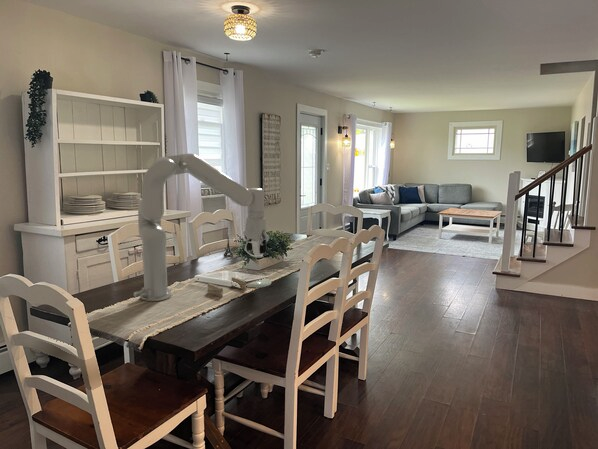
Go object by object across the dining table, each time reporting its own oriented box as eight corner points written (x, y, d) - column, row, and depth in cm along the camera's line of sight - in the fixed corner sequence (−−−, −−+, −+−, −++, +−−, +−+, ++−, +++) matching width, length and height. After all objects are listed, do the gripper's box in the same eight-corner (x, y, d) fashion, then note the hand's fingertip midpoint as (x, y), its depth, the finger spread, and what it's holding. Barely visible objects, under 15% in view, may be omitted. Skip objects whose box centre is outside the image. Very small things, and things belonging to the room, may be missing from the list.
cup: (263, 258, 210) (263, 241, 208) (243, 257, 211) (242, 240, 210) (267, 255, 216) (267, 238, 215) (247, 254, 218) (247, 237, 217)
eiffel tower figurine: (228, 260, 258) (228, 237, 256) (214, 258, 263) (213, 236, 260) (243, 255, 272) (242, 233, 269) (229, 253, 276) (228, 231, 274)
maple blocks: (220, 297, 196) (220, 288, 195) (207, 292, 202) (207, 283, 201) (246, 289, 207) (246, 281, 206) (233, 285, 213) (233, 276, 212)
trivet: (255, 289, 207) (255, 288, 206) (235, 283, 216) (235, 282, 216) (277, 283, 217) (277, 281, 217) (257, 277, 226) (257, 275, 226)
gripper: (237, 213, 213) (238, 249, 216) (263, 218, 202) (263, 256, 205) (249, 211, 219) (249, 247, 222) (275, 216, 207) (274, 253, 210)
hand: (256, 251), depth 213 cm, fingers closed on cup, 8 cm apart
